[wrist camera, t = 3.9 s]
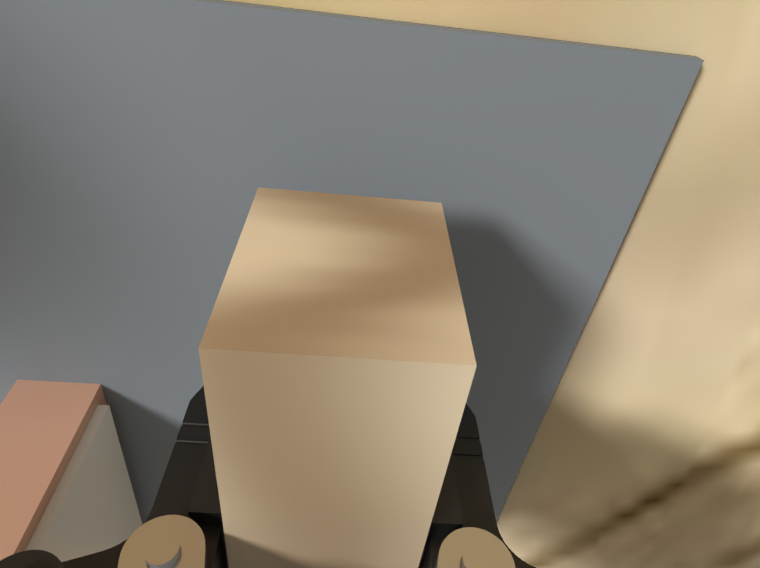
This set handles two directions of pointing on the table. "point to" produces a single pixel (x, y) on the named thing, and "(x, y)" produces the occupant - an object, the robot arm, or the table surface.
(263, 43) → the mat
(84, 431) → the tile
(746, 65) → the table surface
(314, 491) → the beige pillar on base
